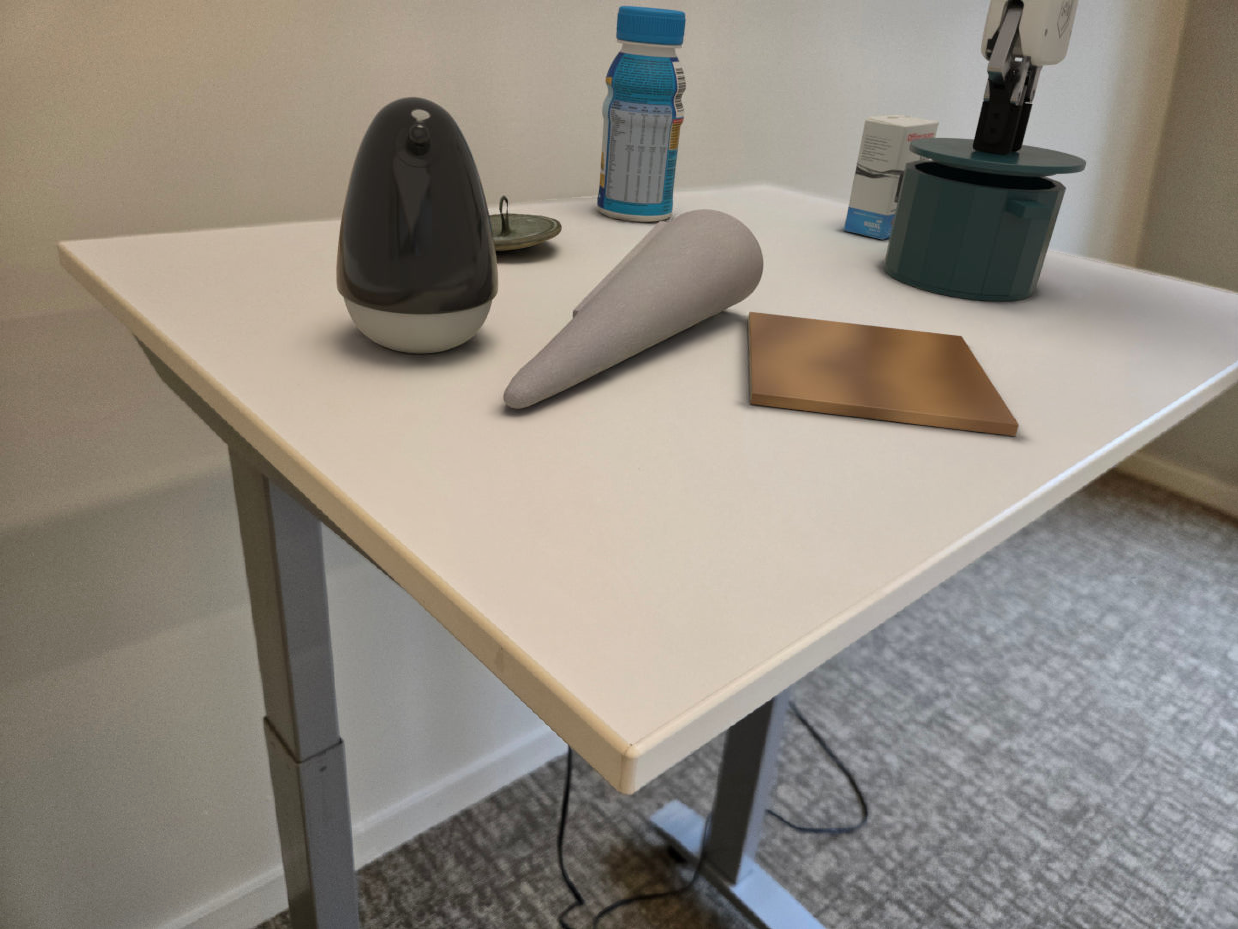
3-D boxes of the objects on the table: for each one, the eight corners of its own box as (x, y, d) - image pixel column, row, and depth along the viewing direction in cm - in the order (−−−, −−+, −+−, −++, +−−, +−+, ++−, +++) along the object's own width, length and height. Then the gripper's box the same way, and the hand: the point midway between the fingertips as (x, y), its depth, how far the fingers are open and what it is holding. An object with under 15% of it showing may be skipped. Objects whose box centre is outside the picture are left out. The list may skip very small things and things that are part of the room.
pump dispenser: (337, 371, 56) (320, 104, 49) (342, 314, 65) (328, 81, 57) (506, 369, 58) (512, 115, 51) (488, 314, 67) (492, 91, 60)
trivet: (959, 345, 70) (962, 335, 69) (1015, 436, 55) (1019, 424, 55) (747, 321, 71) (749, 311, 70) (750, 404, 56) (752, 392, 56)
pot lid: (1024, 154, 90) (1043, 80, 87) (1119, 184, 77) (1145, 98, 74) (881, 147, 87) (895, 71, 84) (954, 177, 74) (974, 88, 71)
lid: (574, 275, 83) (588, 219, 81) (477, 256, 76) (491, 195, 75) (517, 249, 90) (529, 198, 89) (424, 230, 84) (436, 175, 83)
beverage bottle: (621, 225, 94) (639, 8, 85) (581, 206, 101) (593, 2, 91) (688, 221, 99) (712, 14, 89) (645, 203, 105) (664, 8, 95)
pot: (974, 253, 96) (999, 159, 92) (1080, 313, 80) (1117, 202, 75) (852, 248, 94) (871, 151, 90) (935, 308, 78) (963, 194, 73)
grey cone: (639, 372, 48) (770, 220, 67) (491, 335, 50) (660, 199, 70) (630, 493, 52) (756, 317, 72) (495, 453, 54) (652, 293, 74)
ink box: (882, 241, 98) (907, 124, 92) (841, 230, 101) (863, 117, 95) (916, 230, 104) (941, 120, 98) (876, 221, 107) (899, 113, 101)
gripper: (1081, -103, 65) (1013, 166, 74) (1125, -81, 77) (1062, 149, 85) (976, -104, 69) (923, 152, 77) (1033, -83, 81) (981, 137, 89)
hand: (996, 148), depth 81 cm, fingers closed on pot lid, 2 cm apart
